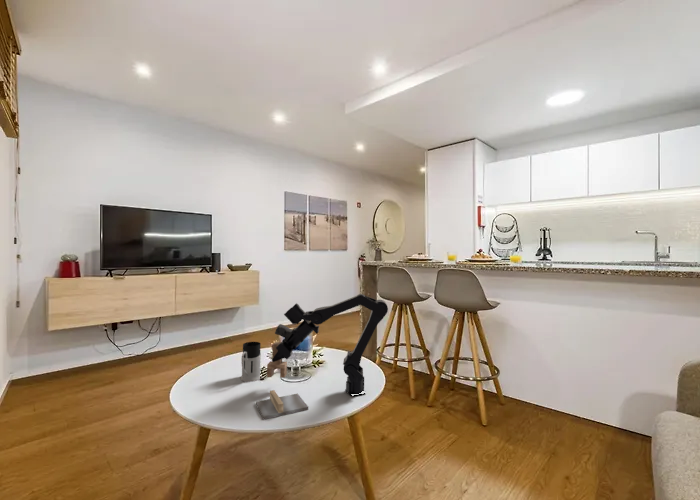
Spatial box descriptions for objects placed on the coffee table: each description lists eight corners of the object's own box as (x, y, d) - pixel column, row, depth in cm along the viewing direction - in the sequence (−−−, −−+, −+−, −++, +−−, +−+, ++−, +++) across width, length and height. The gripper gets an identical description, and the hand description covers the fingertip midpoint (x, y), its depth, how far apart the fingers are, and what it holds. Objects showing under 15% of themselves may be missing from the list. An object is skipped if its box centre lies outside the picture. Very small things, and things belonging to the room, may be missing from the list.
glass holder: (264, 374, 149) (264, 341, 149) (251, 387, 135) (252, 351, 135) (245, 373, 150) (246, 340, 150) (231, 386, 136) (232, 350, 136)
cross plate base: (297, 396, 128) (297, 385, 128) (308, 409, 117) (308, 398, 117) (255, 404, 120) (255, 393, 120) (263, 419, 110) (263, 407, 110)
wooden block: (286, 373, 135) (287, 342, 135) (284, 377, 131) (284, 345, 131) (269, 373, 135) (270, 341, 135) (267, 377, 131) (267, 344, 131)
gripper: (292, 313, 142) (266, 338, 143) (282, 323, 124) (252, 351, 124) (310, 332, 142) (284, 357, 142) (302, 344, 123) (272, 373, 124)
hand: (273, 359), depth 133 cm, fingers closed on wooden block, 4 cm apart
